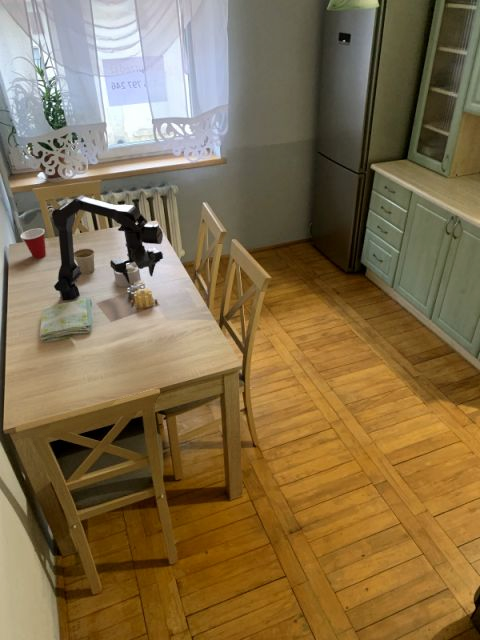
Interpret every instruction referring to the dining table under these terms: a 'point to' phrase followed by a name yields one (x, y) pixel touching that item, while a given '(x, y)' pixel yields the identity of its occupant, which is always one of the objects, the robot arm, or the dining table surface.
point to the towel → (66, 320)
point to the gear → (133, 290)
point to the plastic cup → (35, 242)
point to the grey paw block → (132, 274)
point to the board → (122, 307)
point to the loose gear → (143, 297)
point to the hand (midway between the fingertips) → (140, 279)
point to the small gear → (139, 283)
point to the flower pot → (85, 260)
